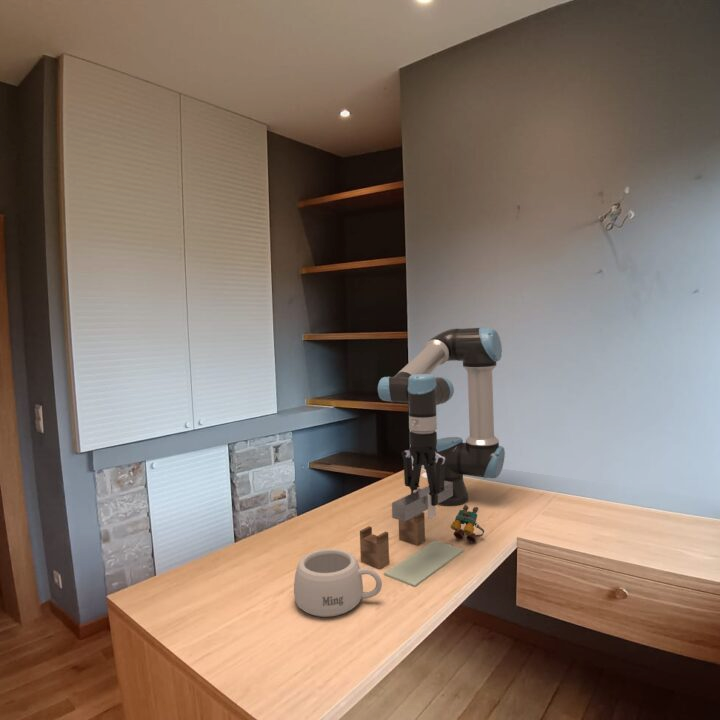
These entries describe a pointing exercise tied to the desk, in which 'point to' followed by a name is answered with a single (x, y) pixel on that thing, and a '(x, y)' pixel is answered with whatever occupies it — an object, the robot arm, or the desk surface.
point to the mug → (331, 582)
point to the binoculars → (469, 520)
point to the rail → (418, 502)
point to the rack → (378, 546)
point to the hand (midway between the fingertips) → (424, 514)
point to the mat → (423, 563)
